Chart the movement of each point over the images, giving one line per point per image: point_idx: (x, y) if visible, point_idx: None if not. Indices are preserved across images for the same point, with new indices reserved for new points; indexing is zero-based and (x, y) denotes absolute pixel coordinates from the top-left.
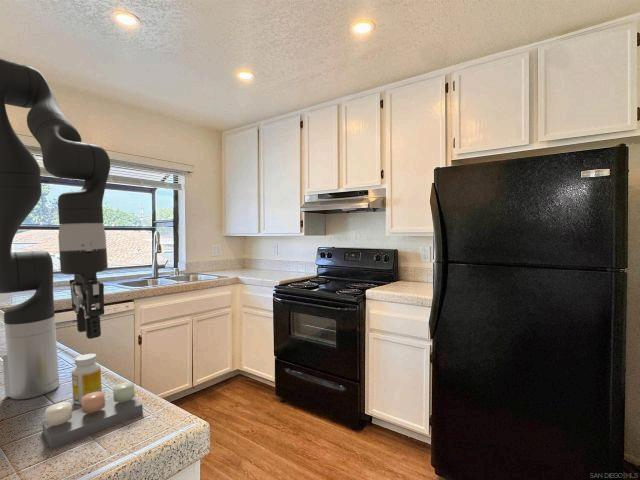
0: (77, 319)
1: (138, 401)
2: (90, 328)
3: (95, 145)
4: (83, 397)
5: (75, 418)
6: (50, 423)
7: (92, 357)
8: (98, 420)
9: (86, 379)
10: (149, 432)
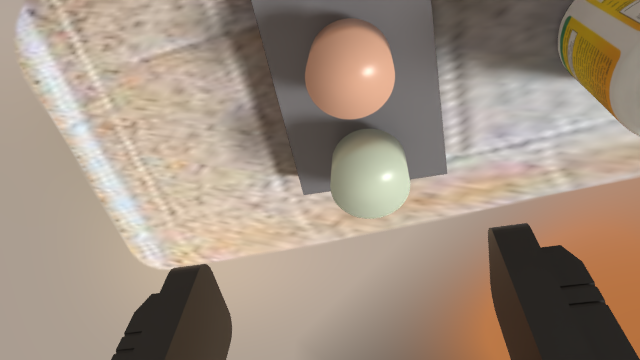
0: (531, 319)
1: None
2: (118, 351)
3: None
4: (365, 42)
5: None
6: None
7: None
8: (269, 63)
9: (602, 62)
10: (174, 172)
